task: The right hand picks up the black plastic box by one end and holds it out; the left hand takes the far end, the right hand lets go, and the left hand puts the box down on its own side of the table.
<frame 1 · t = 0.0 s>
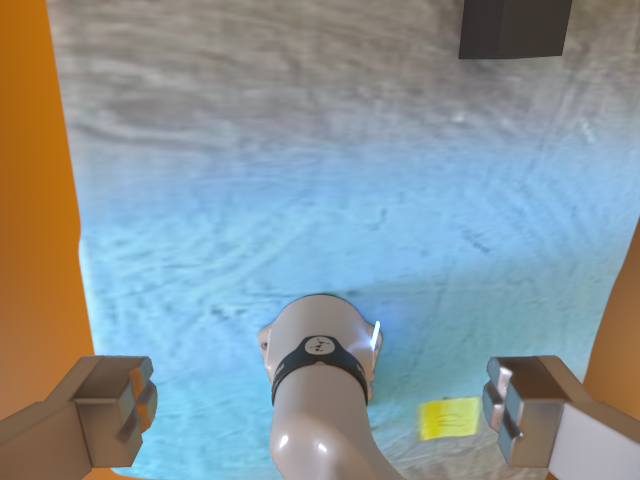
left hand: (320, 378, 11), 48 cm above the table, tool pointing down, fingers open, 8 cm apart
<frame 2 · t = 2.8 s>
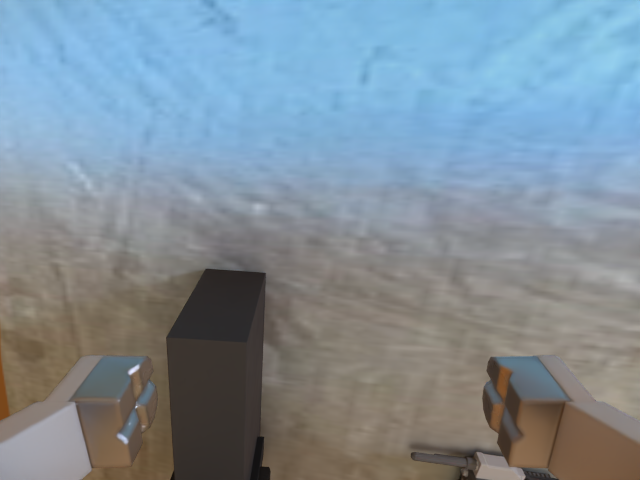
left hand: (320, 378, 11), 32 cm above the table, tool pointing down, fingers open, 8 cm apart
box: (234, 369, 49), on the table, touching right hand
walkie-talkie: (479, 475, 55), on the table
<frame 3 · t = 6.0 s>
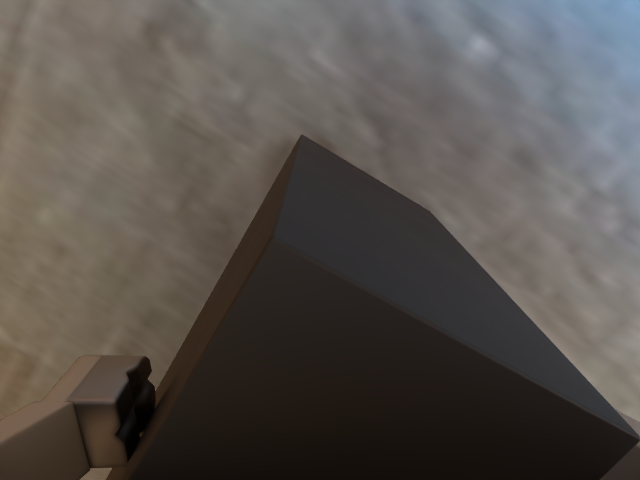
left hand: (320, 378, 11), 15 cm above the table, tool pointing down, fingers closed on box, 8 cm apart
box: (228, 394, 21), point 7 cm above the table, touching left hand, right hand
when the right hand's fingers open (10 cm above the table, at t = 7.5 s): box stays where it is, held by the left hand.
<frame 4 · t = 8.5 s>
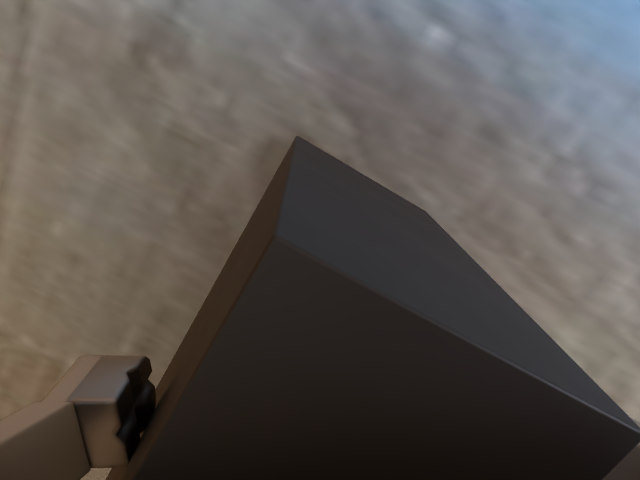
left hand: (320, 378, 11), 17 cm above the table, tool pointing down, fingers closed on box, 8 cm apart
box: (225, 398, 20), point 10 cm above the table, touching left hand
when the left hand's fingers open (8 cm above the table, at t = 12.1 s): box stays where it is, on the table.
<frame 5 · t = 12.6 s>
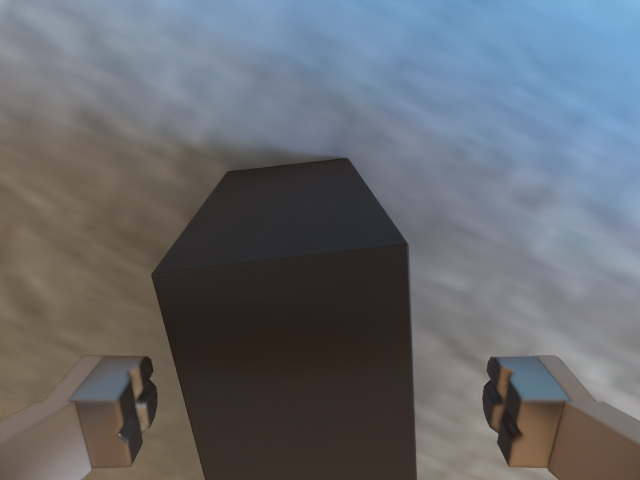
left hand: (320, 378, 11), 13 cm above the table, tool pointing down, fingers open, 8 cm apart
box: (314, 368, 26), on the table
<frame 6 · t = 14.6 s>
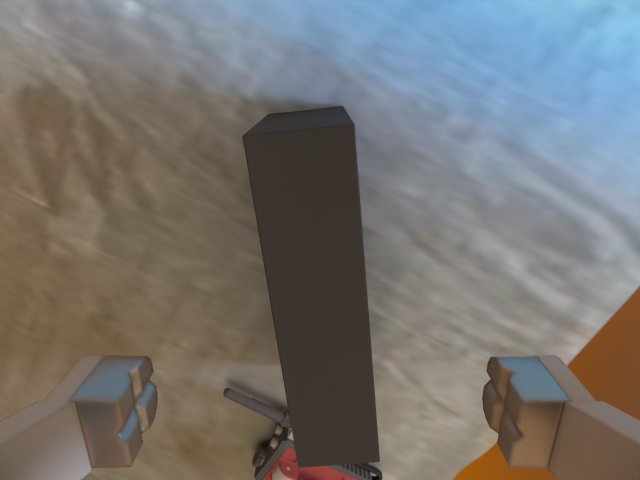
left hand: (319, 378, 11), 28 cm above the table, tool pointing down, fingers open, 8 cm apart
box: (321, 250, 39), on the table
walkie-talkie: (294, 440, 48), on the table
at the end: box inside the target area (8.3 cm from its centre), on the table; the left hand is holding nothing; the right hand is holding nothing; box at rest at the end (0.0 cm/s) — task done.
